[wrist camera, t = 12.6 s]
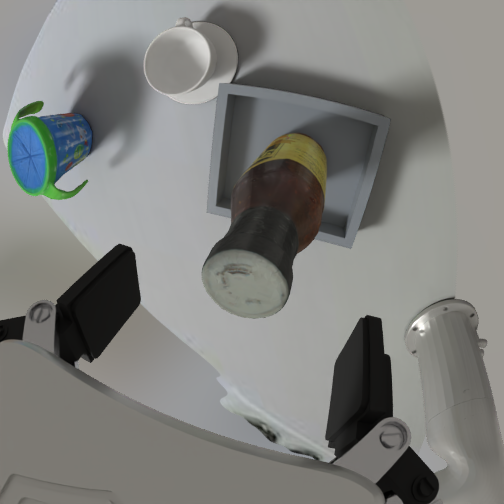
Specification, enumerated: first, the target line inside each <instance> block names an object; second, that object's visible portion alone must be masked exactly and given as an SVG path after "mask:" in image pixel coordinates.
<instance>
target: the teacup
mask: <svg viewBox="0 0 504 504" xmlns="http://www.w3.org/2000/svg"><path fill="white" fill-rule="evenodd" d="M237 65H238V53H237V48H236V45H235V43H234V41H233V39H232V37H231V36H230V35H229V34H228V33H227V32H226V31H225V30H224V29H223V28H221V27H219V26H217V25H215V24H212V23H208V22H191V20H190V19H189V18H186V17H184V18H179V19H178V20H177V22H176V27H173V28H170V29H168V30H165V31H164V32H162V33H161V34H159V35H158V36H157V37H156V38H155V39H154V40H153V41H152V42H151V44H150V45H149V47H148V49H147V51H146V54H145V58H144V73H145V76H146V79H147V81H148V82H149V84H150V85H151V86H152V87H153V88H154V89H155V90H156V91H158V92H160V93H162V94H164V95H167V96H168V97H170V98H171V99H173V100H175V101H177V102H180V103H183V104H201V103H205V102H208V101H210V100H212V99H214V98H216V97H217V96H218V88H219V83H231V81H232V80H233V78H234V75H235V73H236V70H237Z"/></svg>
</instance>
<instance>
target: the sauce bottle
mask: <svg viewBox="0 0 504 504" xmlns="http://www.w3.org/2000/svg"><path fill="white" fill-rule="evenodd" d="M326 179H327V160H326V156H325V154H324V150H323V148H322V147H321V145H320V144H319V143H318V142H317V141H315V140H314V139H313V138H312V137H310V136H308V135H306V134H303V133H290V134H284V135H282V136H280V137H278V138H276V139H275V140H274V141H272V142H271V143H270V145H269V146H268V147H267V148H266V149H265V150H264V151H263V152H262V153H261V154H260V156H259V157H258V158H257V159H256V160H255V161H254V162H253V163H252V165H251V166H250V167H249V168H248V169H247V170H246V171H245V172H244V174H243V175H242V176H241V177H240V179H239V180H238V181H237V183H236V184H235V186H234V188H233V191H232V194H231V226H230V229H229V231H228V233H227V234H226V235H225V236H224V238H223V239H221V240H220V241H218V242H217V243H216V244H215V246H214V247H213V248H212V250H211V252H210V254H209V256H208V257H207V259H206V261H205V263H204V265H203V268H202V281H203V284H204V287H205V289H206V292H207V293H208V294H209V296H210V297H211V298H212V299H213V300H214V302H215V303H216V304H218V305H219V306H220V307H221V308H222V309H224V310H226V311H227V312H229V313H231V314H234V315H237V316H240V317H244V318H253V319H255V318H265V317H267V316H271V315H273V314H275V313H277V312H278V311H280V310H281V309H282V308H283V307H284V305H285V304H286V302H287V300H288V297H289V295H290V291H291V286H292V281H293V270H292V265H293V260H294V258H295V256H296V254H297V253H299V252H301V251H302V250H303V249H305V248H306V247H307V246H308V245H309V244H310V243H311V242H312V241H313V240H314V239H315V237H316V235H317V234H318V231H319V228H320V226H321V220H322V213H323V210H324V205H325V193H326Z"/></svg>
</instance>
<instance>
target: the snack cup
mask: <svg viewBox="0 0 504 504" xmlns="http://www.w3.org/2000/svg"><path fill="white" fill-rule="evenodd" d="M43 105H44V103H43V102H42V101H36V102H33V103H31V104H28V105H27V106H25V107H23V108H22V109H21V110H19V112H18V113H17V115H16V117H15V119H14V121H13V123H12V127H11V132H10V134H9V139H8V158H9V164H10V168H11V171H12V174H13V176H14V178H15V180H16V182H17V183H18V185H19V186H20V187H21V189H22V190H24V191H25V192H26V193H27V194H29V195H32V196H38V195H45V196H47V197H48V198H51V199H56V200H62V199H68V198H71V197H73V196H75V195H76V194H77V193H78V192H79V191H80V190H81V189H82V188H83V187H84V186H85V185H86V184H87V182H88V180H86V181H84V182H83V183H82V184H81V185H80V186H78V187H77V188H76V189H75V190H73V191H70V192H66V191H63V190H60V189H57V188H56V187H55V185H54V184H55V183H56V182H57V181H58V180H59V179H60V177H61V176H63V174H65V173H66V172H68V171H69V170H70V169H72V168H73V167H75V166H76V165H77V164H79V163H80V162H81V161H83V160H84V159H85V158H86V157H87V156H88V154H89V151H90V149H91V144H92V136H93V135H92V130H91V129H90V126H89V124H88V123H87V121H86V120H85V119H84V118H83V116H82V115H80V114H75V113H67V114H57V115H49V116H42V117H36V116H29V117H25V118H22V119H19V118H20V117H23V116H26V115H29V114H35V113H37V112H39V111H40V110H41V109H42V107H43Z"/></svg>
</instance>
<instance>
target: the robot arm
mask: <svg viewBox="0 0 504 504" xmlns="http://www.w3.org/2000/svg"><path fill="white" fill-rule="evenodd" d="M140 301H141V297H140V290H139V283H138V275H137V267H136V259H135V253H134V252H133V250H132V248H131V247H128V246H125V245H122V244H118V245H116V246H115V247H114V248H113V249H112V250H111V251H109V252H108V253H107V254H106V255H105V256H104V257H103V258H101V259H100V260H99V261H98V262H97V263H96V264H95V265H94V266H92V267H91V268H90V269H89V270H88V271H87V272H86V273H85V274H84V275H83V276H82V277H81V278H80V279H78V280H77V281H76V282H75V283H74V284H73V285H72V286H71V287H70V288H69V289H68V290H67V291H66V292H65V293H64V294H63V295H62V296H61V297H60V298H59V299H58V300H57V304H56V305H54V303H52V302H51V301H48V300H41V301H38V302H36V303H34V304H33V305H31V306H30V308H29V309H28V310H27V314H26V316H21V317H16V318H11V319H6V320H1V321H0V504H504V445H503V441H502V438H501V432H500V428H499V423H498V418H497V413H496V408H495V404H494V399H493V395H492V391H491V387H490V383H489V379H488V375H487V372H486V368H485V365H484V361H483V356H484V351H483V349H479V347H481V348H485V347H486V346H487V340H485V339H479V337H478V335H477V332H476V329H477V326H478V315H477V312H476V310H475V308H474V307H473V306H472V305H471V304H470V303H468V302H467V301H464V300H459V299H451V300H445V301H441V302H438V303H436V304H433V305H431V306H430V307H428V308H426V309H424V310H423V311H422V312H421V313H419V314H418V315H417V316H416V317H415V318H414V319H413V320H412V322H411V323H410V324H409V326H408V328H407V330H406V334H405V343H406V348H407V350H408V351H409V353H410V354H411V355H413V356H415V357H417V358H418V362H419V369H420V376H421V384H422V392H423V401H424V412H425V425H426V437H427V442H428V445H429V446H430V448H431V450H432V451H433V452H434V453H436V454H437V455H438V456H440V457H441V458H443V459H444V460H445V461H446V462H447V464H448V466H447V467H446V468H445V469H443V470H440V471H438V472H436V473H433V472H432V471H431V470H430V469H429V467H428V466H427V465H426V464H425V463H424V462H423V461H422V460H421V458H420V457H419V456H418V455H417V454H416V453H415V452H414V451H413V450H412V448H411V447H410V446H409V445H410V442H411V432H410V429H409V427H408V426H407V425H406V423H405V422H403V421H402V420H401V419H398V418H395V417H393V396H392V373H391V360H390V356H389V355H387V354H384V343H383V331H382V321H381V318H377V317H373V316H369V315H366V316H365V318H360V319H359V321H358V323H357V325H356V327H355V328H354V330H353V332H352V334H351V336H350V337H349V339H348V341H347V343H346V344H345V346H344V348H343V349H342V351H341V353H340V355H339V356H338V358H337V360H336V362H335V366H334V375H333V385H332V393H331V401H330V409H329V416H328V423H327V429H326V436H325V439H326V440H329V444H328V447H329V448H335V454H334V455H335V456H336V457H335V458H334V459H333V460H331V461H330V462H329V463H327V462H322V461H318V460H313V459H309V458H305V457H299V456H295V455H290V454H286V453H282V452H278V451H274V450H270V449H266V448H262V447H258V446H255V445H251V444H248V443H244V442H241V441H237V440H234V439H231V438H228V437H225V436H221V435H218V434H215V433H213V432H210V431H207V430H204V429H201V428H198V427H196V426H193V425H191V424H188V423H185V422H183V421H180V420H178V419H175V418H173V417H171V416H168V415H166V414H163V413H161V412H159V411H157V410H155V409H152V408H150V407H148V406H146V405H144V404H141V403H140V402H137V401H135V400H133V399H131V398H129V397H127V396H125V395H123V394H121V393H120V392H118V391H115V390H114V389H112V388H110V387H108V386H106V385H105V384H103V383H101V382H99V381H98V380H96V379H94V378H92V377H91V376H89V375H87V374H85V373H84V372H82V371H81V370H79V364H78V360H79V358H80V357H82V358H83V359H85V360H86V361H88V362H90V363H91V362H92V361H93V360H94V358H98V357H99V356H100V355H101V353H102V352H103V350H104V349H105V348H106V347H107V345H108V344H109V343H110V342H111V340H112V339H113V338H114V336H115V335H116V334H117V332H118V331H119V330H120V329H121V327H122V326H123V325H124V323H125V322H126V321H127V320H128V319H129V317H130V316H131V315H132V314H133V312H134V311H135V310H136V308H137V307H138V306H139V304H140Z"/></svg>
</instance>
